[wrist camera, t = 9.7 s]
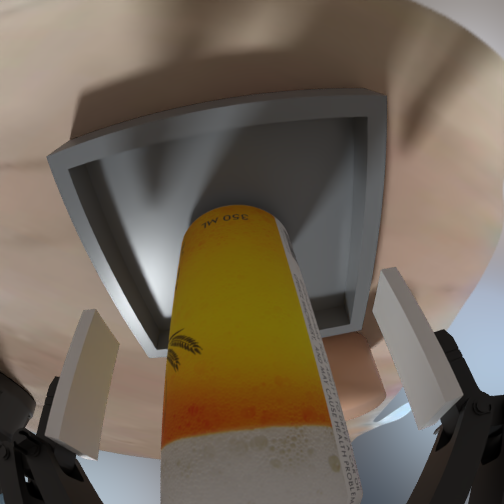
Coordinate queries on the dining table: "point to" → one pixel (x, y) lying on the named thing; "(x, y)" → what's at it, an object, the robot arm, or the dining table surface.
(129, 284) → the tray
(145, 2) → the dining table surface
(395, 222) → the dining table surface
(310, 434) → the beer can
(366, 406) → the light brown rounded lump
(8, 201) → the dining table surface
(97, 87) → the dining table surface
